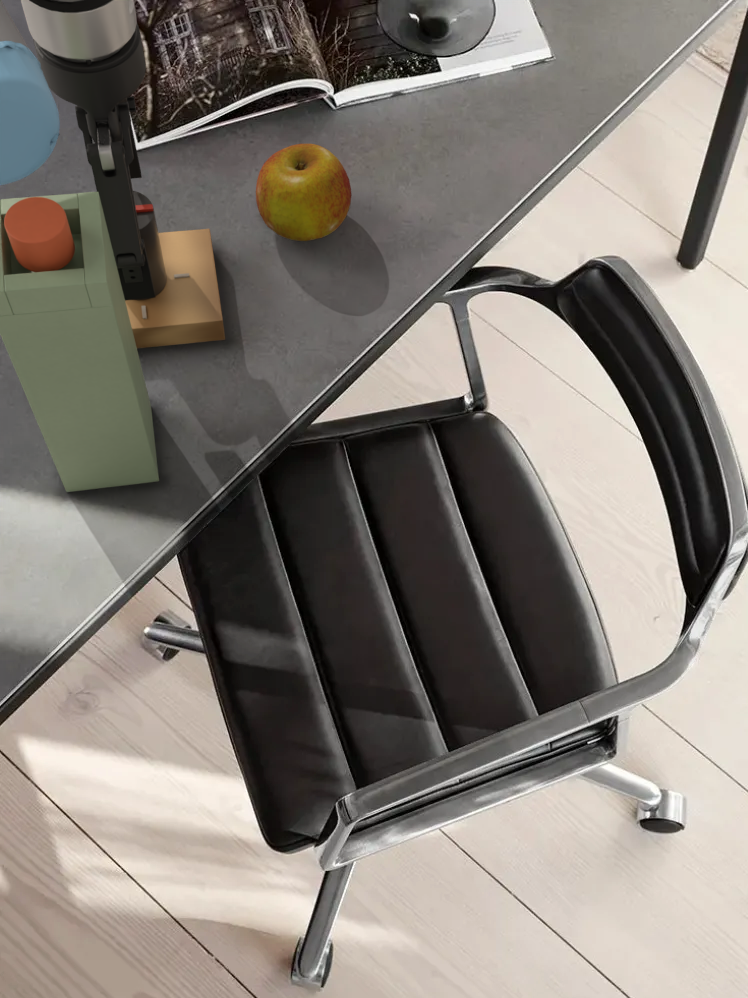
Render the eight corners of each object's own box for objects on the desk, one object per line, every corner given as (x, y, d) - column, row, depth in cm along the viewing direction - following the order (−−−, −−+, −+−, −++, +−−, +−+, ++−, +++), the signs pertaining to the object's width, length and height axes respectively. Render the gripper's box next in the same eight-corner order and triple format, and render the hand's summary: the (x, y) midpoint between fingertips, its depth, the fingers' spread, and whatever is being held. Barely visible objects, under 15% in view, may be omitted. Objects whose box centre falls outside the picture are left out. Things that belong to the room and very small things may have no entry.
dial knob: (116, 302, 104) (98, 232, 95) (112, 261, 106) (94, 189, 97) (169, 297, 104) (155, 227, 96) (164, 257, 106) (150, 185, 98)
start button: (16, 276, 76) (4, 245, 73) (13, 230, 78) (2, 198, 75) (77, 270, 77) (68, 240, 74) (73, 225, 78) (64, 194, 76)
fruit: (306, 172, 116) (305, 110, 109) (369, 222, 114) (373, 162, 107) (238, 221, 113) (232, 161, 106) (302, 273, 111) (301, 216, 104)
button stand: (66, 492, 99) (-18, 293, 74) (61, 415, 102) (-22, 200, 77) (159, 481, 100) (106, 282, 75) (151, 406, 103) (98, 191, 79)
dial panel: (73, 355, 105) (66, 334, 102) (66, 262, 109) (59, 239, 106) (225, 340, 107) (222, 319, 104) (212, 249, 111) (209, 226, 108)
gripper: (154, 155, 76) (189, 344, 95) (124, -90, 86) (162, 126, 105) (39, 164, 75) (99, 354, 94) (23, -86, 85) (79, 132, 104)
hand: (132, 234), depth 100 cm, fingers open, 13 cm apart
